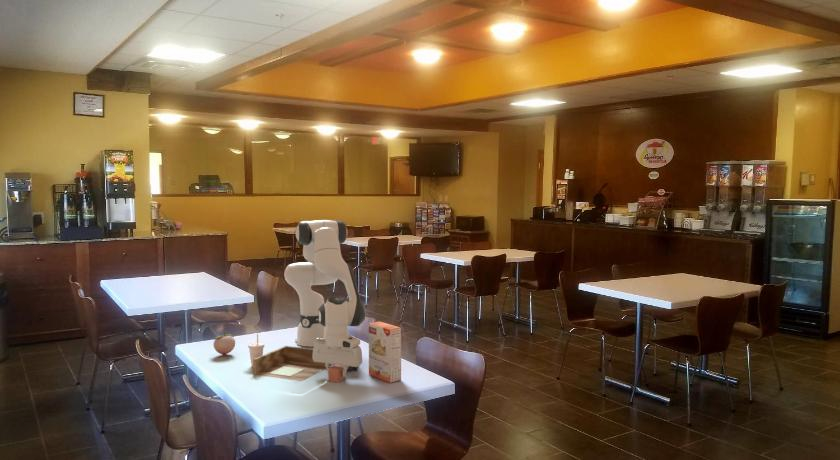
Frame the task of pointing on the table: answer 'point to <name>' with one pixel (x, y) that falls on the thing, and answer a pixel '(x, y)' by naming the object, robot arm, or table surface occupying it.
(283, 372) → the pad
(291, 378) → the arena
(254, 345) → the smoothie
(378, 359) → the cracker box
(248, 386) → the table surface
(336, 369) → the block
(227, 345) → the decorative fruit
